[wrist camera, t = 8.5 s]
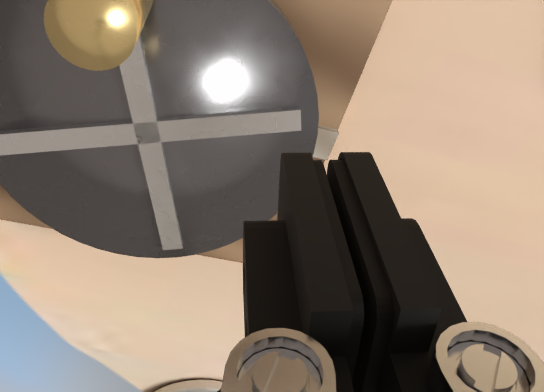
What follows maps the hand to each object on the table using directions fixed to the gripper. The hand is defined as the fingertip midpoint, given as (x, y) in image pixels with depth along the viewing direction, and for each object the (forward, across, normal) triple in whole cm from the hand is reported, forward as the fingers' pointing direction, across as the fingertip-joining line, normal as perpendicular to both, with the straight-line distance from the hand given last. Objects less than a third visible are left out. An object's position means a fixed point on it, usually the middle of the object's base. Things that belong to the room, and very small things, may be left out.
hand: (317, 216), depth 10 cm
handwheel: (+20, +6, +7) cm, 22 cm away
